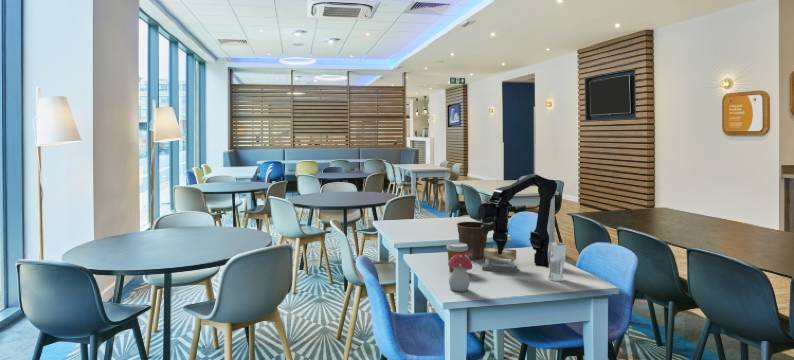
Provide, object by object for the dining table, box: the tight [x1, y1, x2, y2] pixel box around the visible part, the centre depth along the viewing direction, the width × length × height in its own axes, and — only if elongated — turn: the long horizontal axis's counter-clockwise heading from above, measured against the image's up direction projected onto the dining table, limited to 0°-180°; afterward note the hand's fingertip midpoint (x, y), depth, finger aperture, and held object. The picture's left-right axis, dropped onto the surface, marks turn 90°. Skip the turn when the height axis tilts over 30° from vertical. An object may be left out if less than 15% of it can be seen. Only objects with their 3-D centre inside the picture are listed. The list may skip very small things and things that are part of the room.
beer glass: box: [547, 241, 567, 282], centre depth 199 cm, size 7×7×15 cm
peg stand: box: [481, 258, 518, 273], centre depth 215 cm, size 15×7×6 cm, turn 76°
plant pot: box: [456, 221, 489, 260], centre depth 237 cm, size 16×16×16 cm
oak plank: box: [482, 247, 517, 261], centre depth 214 cm, size 14×6×3 cm, turn 76°
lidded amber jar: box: [446, 242, 468, 273], centre depth 210 cm, size 10×10×12 cm
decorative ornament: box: [447, 252, 473, 293], centre depth 184 cm, size 9×7×15 cm
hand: (500, 252), depth 214 cm, fingers open, 9 cm apart
